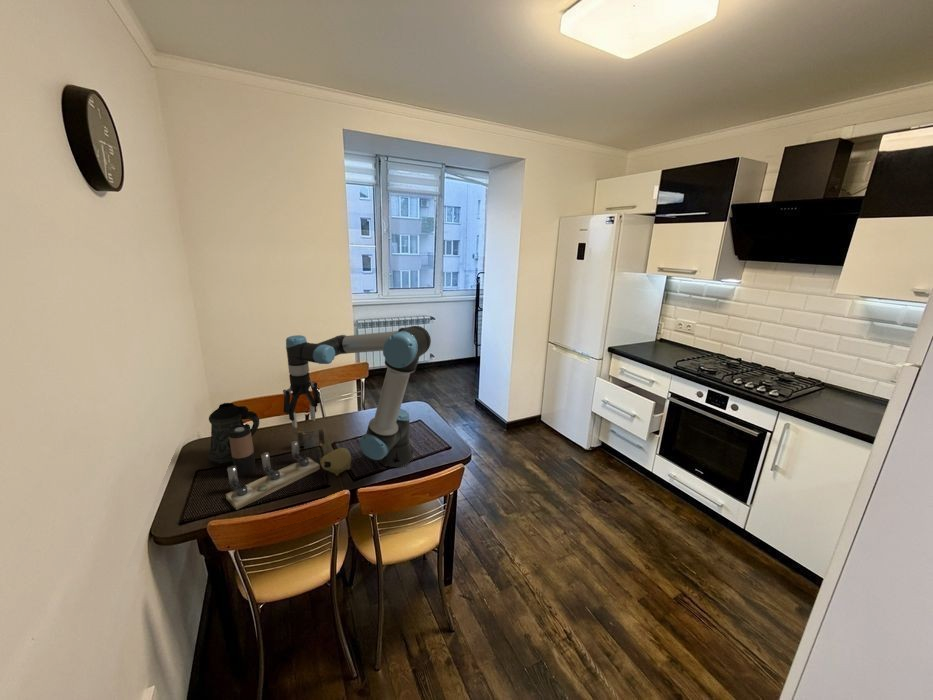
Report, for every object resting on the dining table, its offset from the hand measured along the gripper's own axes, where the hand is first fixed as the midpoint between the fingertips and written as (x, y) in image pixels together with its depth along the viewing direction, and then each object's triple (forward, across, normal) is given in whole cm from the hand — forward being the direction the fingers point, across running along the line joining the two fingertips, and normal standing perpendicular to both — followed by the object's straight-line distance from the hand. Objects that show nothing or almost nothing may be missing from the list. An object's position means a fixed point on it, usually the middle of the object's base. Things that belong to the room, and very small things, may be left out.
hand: (304, 422), depth 155 cm
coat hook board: (+17, +17, +7) cm, 25 cm away
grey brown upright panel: (+18, -6, -8) cm, 20 cm away
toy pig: (+17, -2, +18) cm, 25 cm away
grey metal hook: (+15, +17, +4) cm, 23 cm away
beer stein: (+17, +20, -24) cm, 36 cm away
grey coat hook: (+15, +5, +4) cm, 16 cm away
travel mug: (+17, +22, -10) cm, 29 cm away
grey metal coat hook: (+15, +29, +4) cm, 33 cm away
